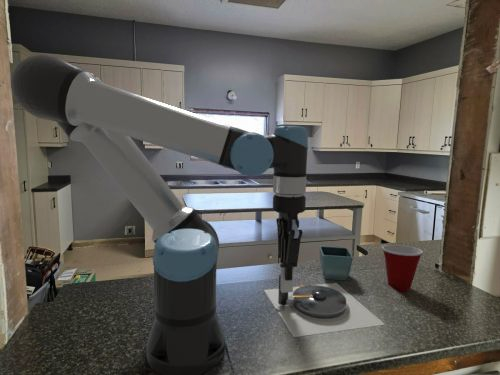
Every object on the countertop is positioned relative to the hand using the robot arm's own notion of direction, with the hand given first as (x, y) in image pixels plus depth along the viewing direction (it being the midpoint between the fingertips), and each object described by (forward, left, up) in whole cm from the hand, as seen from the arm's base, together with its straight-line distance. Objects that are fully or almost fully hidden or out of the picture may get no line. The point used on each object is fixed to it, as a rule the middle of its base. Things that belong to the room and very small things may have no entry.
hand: (286, 290), depth 78 cm
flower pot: (+22, +16, -6) cm, 28 cm away
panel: (+9, 0, -6) cm, 11 cm away
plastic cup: (+38, +7, -6) cm, 39 cm away
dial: (+7, 0, -5) cm, 8 cm away
